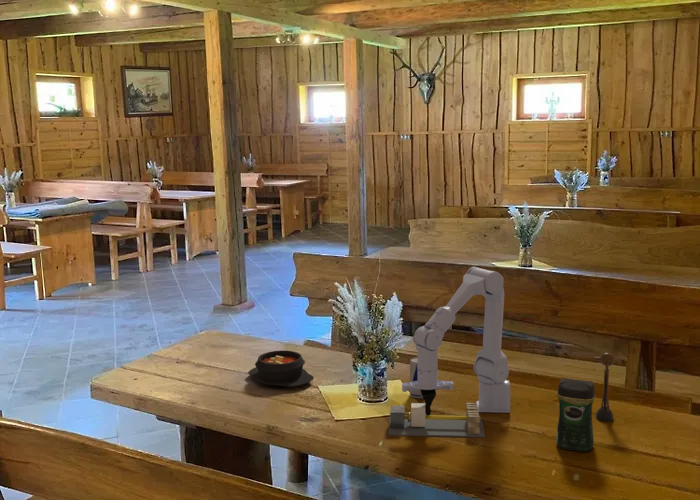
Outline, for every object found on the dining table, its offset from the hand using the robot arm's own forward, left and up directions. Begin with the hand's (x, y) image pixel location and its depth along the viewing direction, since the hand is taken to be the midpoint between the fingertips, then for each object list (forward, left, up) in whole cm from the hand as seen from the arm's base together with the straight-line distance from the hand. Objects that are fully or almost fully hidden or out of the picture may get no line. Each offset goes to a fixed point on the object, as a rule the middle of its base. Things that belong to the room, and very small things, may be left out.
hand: (427, 413), depth 211 cm
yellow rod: (-2, 0, -2) cm, 3 cm away
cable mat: (-2, 0, -4) cm, 5 cm away
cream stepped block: (+3, 0, -4) cm, 5 cm away
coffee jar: (-39, +10, -4) cm, 41 cm away
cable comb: (-13, 0, -4) cm, 13 cm away
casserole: (+50, -36, -5) cm, 62 cm away
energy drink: (+3, -24, -4) cm, 25 cm away
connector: (+8, 0, -4) cm, 9 cm away
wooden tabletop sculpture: (-51, -9, -4) cm, 52 cm away
